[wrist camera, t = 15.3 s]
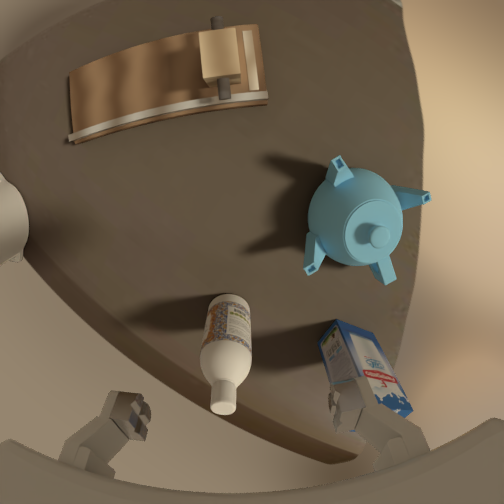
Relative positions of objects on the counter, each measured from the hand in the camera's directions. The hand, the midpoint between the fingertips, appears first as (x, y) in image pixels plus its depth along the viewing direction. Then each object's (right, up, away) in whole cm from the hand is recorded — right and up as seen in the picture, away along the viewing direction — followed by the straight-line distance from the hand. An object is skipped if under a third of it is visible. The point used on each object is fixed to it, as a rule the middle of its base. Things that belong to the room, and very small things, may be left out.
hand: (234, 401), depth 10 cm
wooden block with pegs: (-3, +30, +19) cm, 35 cm away
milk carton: (+19, -10, +39) cm, 45 cm away
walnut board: (-12, +30, +21) cm, 38 cm away
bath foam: (-3, -3, +36) cm, 36 cm away
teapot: (+15, +12, +29) cm, 35 cm away
